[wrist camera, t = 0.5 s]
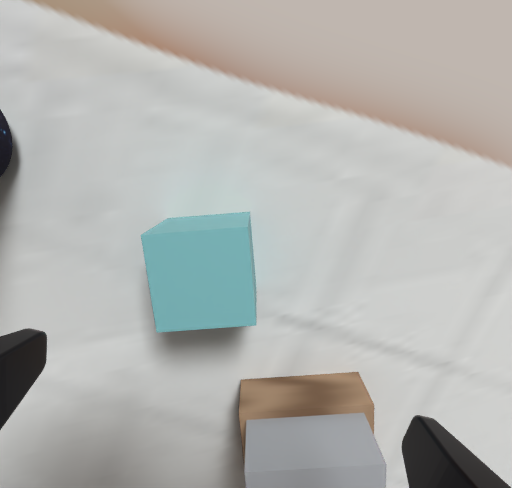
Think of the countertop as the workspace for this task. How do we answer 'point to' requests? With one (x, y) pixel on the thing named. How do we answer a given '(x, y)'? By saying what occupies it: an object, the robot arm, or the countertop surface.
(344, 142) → the countertop surface
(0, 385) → the robot arm
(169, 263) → the teal cube
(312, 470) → the tower top
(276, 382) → the tower base
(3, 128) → the beverage can
